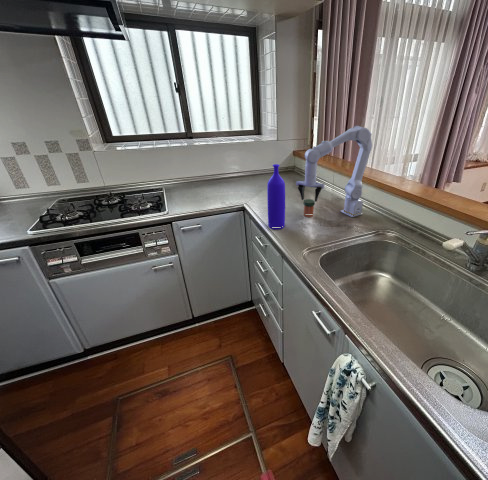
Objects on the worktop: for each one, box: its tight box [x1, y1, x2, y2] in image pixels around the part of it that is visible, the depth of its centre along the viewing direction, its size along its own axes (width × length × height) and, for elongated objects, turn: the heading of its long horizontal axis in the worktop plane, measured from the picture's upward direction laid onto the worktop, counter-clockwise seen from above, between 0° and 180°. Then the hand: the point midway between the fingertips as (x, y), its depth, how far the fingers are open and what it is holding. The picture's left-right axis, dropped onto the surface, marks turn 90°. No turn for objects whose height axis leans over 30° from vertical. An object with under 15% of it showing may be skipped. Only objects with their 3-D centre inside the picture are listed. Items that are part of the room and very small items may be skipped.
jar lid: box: [303, 198, 316, 207], centre depth 140 cm, size 6×6×2 cm
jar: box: [303, 204, 315, 218], centre depth 142 cm, size 5×5×8 cm
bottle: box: [266, 163, 286, 231], centre depth 124 cm, size 8×8×30 cm
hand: (309, 200), depth 140 cm, fingers open, 6 cm apart
